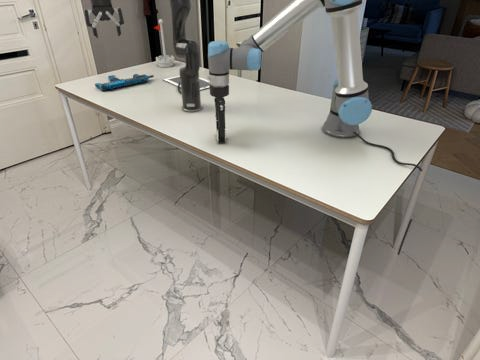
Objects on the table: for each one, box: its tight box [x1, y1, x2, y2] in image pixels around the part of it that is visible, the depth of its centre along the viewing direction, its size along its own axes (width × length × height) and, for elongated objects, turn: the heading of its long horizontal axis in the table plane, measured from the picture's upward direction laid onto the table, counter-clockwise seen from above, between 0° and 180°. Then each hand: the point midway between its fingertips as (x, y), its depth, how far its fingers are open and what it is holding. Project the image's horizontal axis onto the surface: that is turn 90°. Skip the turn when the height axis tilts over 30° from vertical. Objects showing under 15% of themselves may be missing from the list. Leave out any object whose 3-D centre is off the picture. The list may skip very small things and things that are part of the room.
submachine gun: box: [94, 73, 155, 91], centre depth 208 cm, size 34×4×25 cm
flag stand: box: [153, 18, 176, 68], centre depth 235 cm, size 13×13×30 cm
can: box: [216, 129, 227, 141], centre depth 142 cm, size 4×4×4 cm
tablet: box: [162, 75, 210, 91], centre depth 208 cm, size 32×20×1 cm, turn 41°
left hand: (108, 36), depth 139 cm, fingers open, 8 cm apart
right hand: (220, 138), depth 143 cm, fingers open, 6 cm apart
